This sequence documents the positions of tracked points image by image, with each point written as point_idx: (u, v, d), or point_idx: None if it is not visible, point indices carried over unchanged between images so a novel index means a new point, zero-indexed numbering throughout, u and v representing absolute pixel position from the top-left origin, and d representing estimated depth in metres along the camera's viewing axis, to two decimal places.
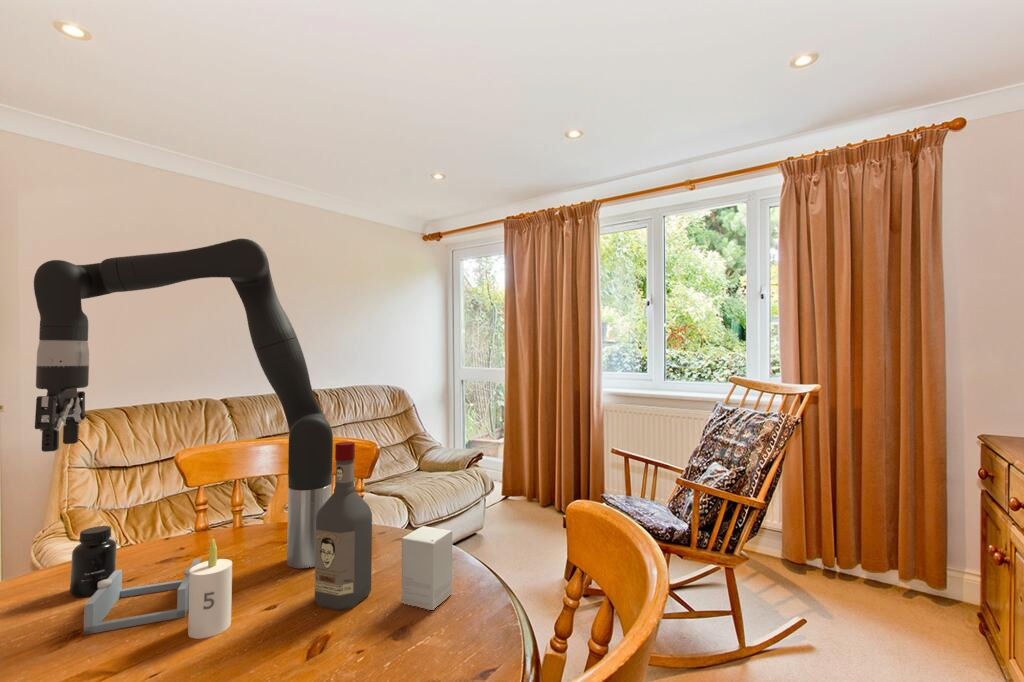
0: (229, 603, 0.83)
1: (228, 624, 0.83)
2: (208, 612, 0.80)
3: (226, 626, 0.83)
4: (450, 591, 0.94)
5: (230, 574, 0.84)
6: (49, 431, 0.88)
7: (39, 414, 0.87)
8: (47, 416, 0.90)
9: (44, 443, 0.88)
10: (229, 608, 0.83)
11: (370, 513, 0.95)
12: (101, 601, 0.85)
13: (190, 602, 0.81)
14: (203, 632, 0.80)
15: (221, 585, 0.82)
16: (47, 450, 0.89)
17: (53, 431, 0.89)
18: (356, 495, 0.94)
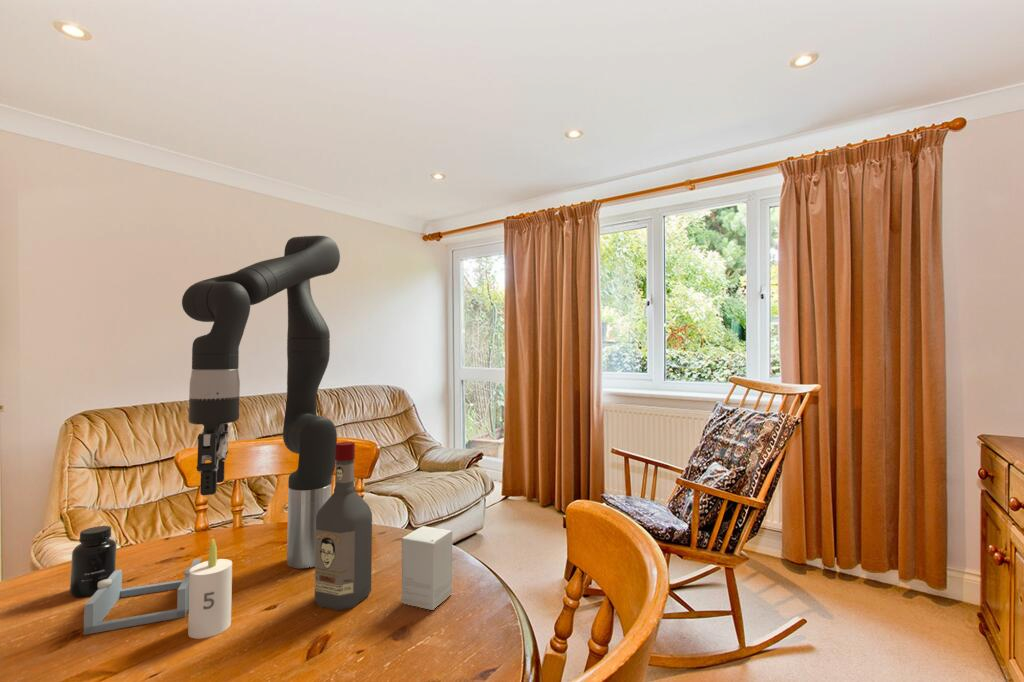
0: (229, 603, 0.83)
1: (228, 624, 0.83)
2: (208, 612, 0.80)
3: (226, 626, 0.83)
4: (450, 591, 0.94)
5: (230, 574, 0.84)
6: (209, 472, 0.79)
7: (201, 454, 0.77)
8: (205, 455, 0.80)
9: (204, 486, 0.79)
10: (229, 608, 0.83)
11: (370, 513, 0.95)
12: (101, 601, 0.85)
13: (190, 602, 0.81)
14: (203, 632, 0.80)
15: (221, 585, 0.82)
16: (206, 493, 0.79)
17: (212, 472, 0.79)
18: (356, 495, 0.94)
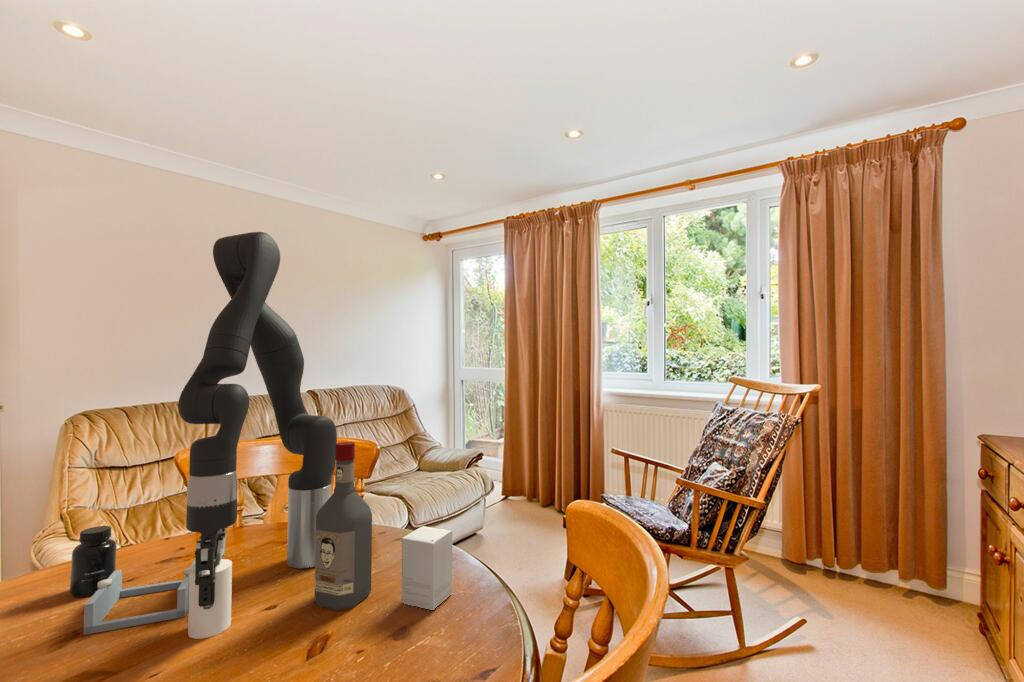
0: (229, 603, 0.83)
1: (228, 624, 0.83)
2: (208, 612, 0.80)
3: (226, 626, 0.83)
4: (450, 591, 0.94)
5: (230, 574, 0.84)
6: (207, 584, 0.79)
7: (199, 570, 0.77)
8: None
9: (202, 598, 0.79)
10: (229, 608, 0.83)
11: (370, 513, 0.95)
12: (101, 601, 0.85)
13: (190, 602, 0.81)
14: (203, 632, 0.80)
15: (221, 585, 0.82)
16: (204, 605, 0.79)
17: (211, 583, 0.80)
18: (356, 495, 0.94)
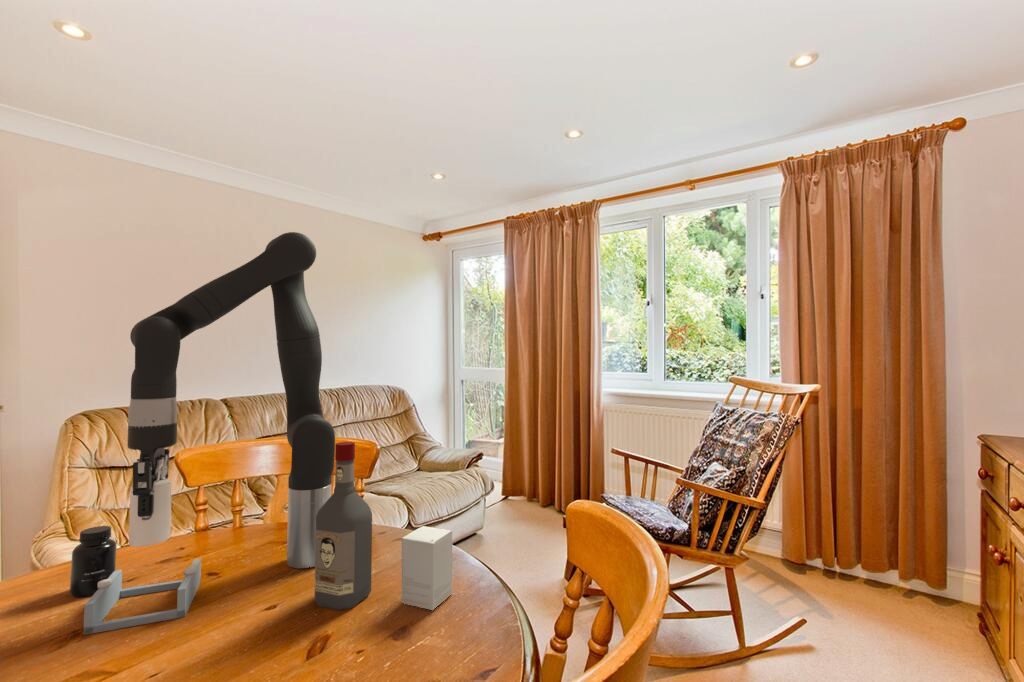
0: (168, 518, 0.91)
1: (167, 537, 0.91)
2: (146, 523, 0.88)
3: (165, 538, 0.90)
4: (450, 591, 0.94)
5: (169, 491, 0.91)
6: (145, 496, 0.87)
7: (136, 481, 0.85)
8: None
9: (140, 508, 0.86)
10: (168, 522, 0.91)
11: (370, 513, 0.95)
12: (101, 601, 0.85)
13: (130, 514, 0.88)
14: (142, 541, 0.88)
15: (159, 500, 0.89)
16: (143, 515, 0.87)
17: (149, 496, 0.87)
18: (356, 495, 0.94)
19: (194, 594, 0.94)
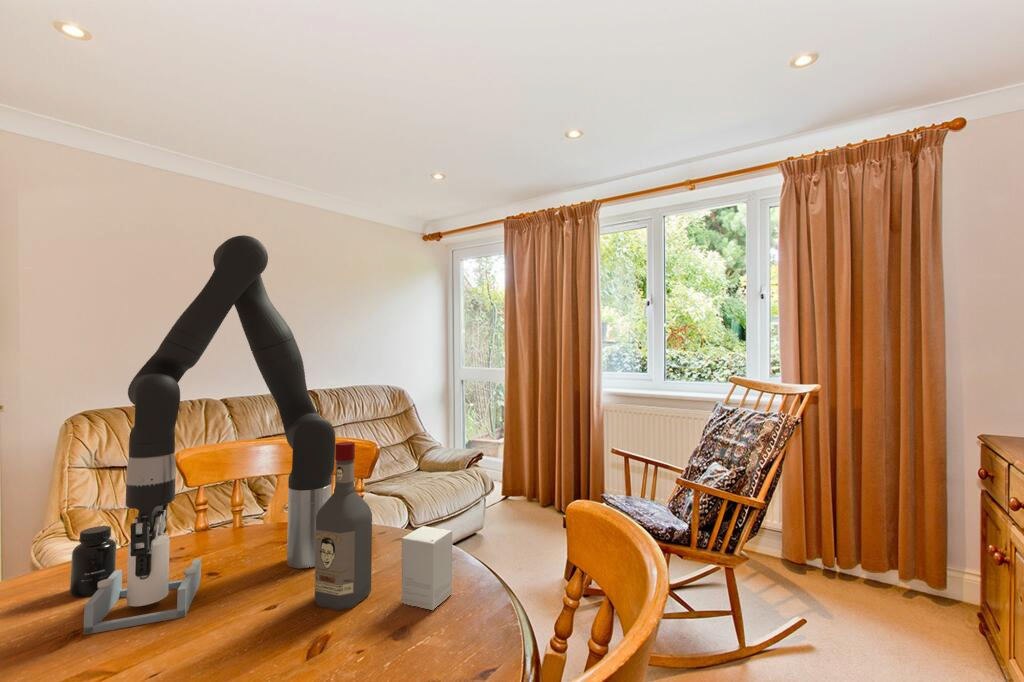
0: (166, 575, 0.91)
1: (165, 594, 0.90)
2: (144, 582, 0.88)
3: (163, 596, 0.90)
4: (450, 591, 0.94)
5: (167, 548, 0.91)
6: (143, 556, 0.86)
7: (134, 542, 0.84)
8: None
9: (138, 569, 0.86)
10: (166, 579, 0.91)
11: (370, 513, 0.95)
12: (101, 601, 0.85)
13: (128, 573, 0.88)
14: (139, 600, 0.87)
15: (157, 558, 0.89)
16: (141, 575, 0.87)
17: (147, 555, 0.87)
18: (356, 495, 0.94)
19: (194, 594, 0.94)
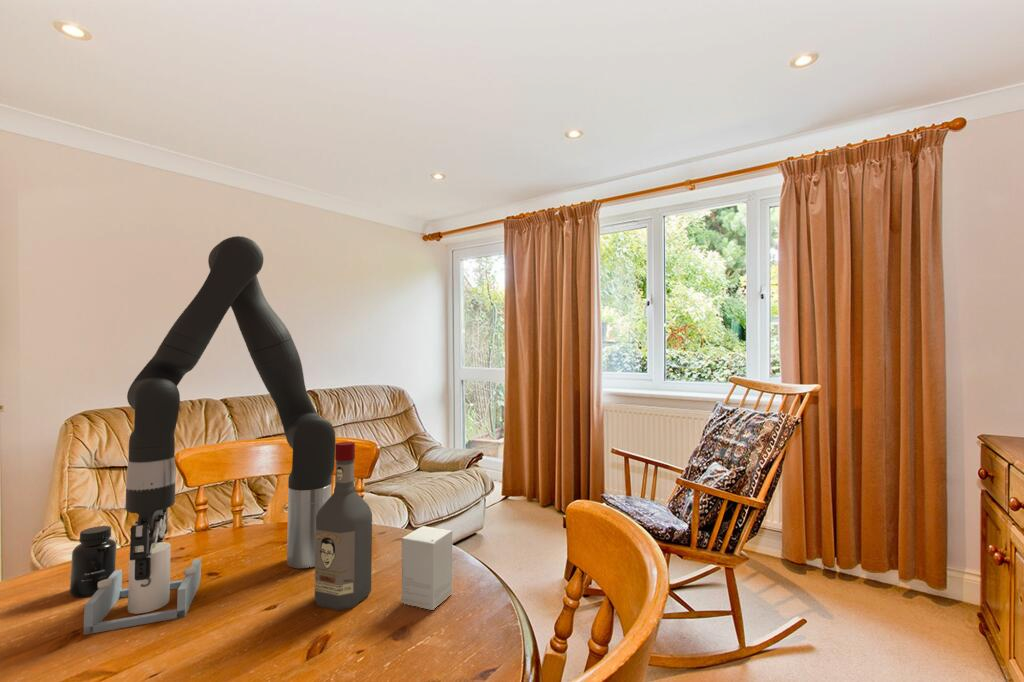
0: (167, 582, 0.91)
1: (166, 601, 0.91)
2: (145, 590, 0.88)
3: (164, 603, 0.90)
4: (450, 591, 0.94)
5: (168, 555, 0.91)
6: (142, 560, 0.86)
7: (134, 545, 0.84)
8: None
9: (137, 572, 0.86)
10: (167, 587, 0.91)
11: (370, 513, 0.95)
12: (101, 601, 0.85)
13: (129, 580, 0.88)
14: (140, 608, 0.88)
15: (158, 565, 0.89)
16: (140, 579, 0.86)
17: (146, 559, 0.86)
18: (356, 495, 0.94)
19: (194, 594, 0.94)
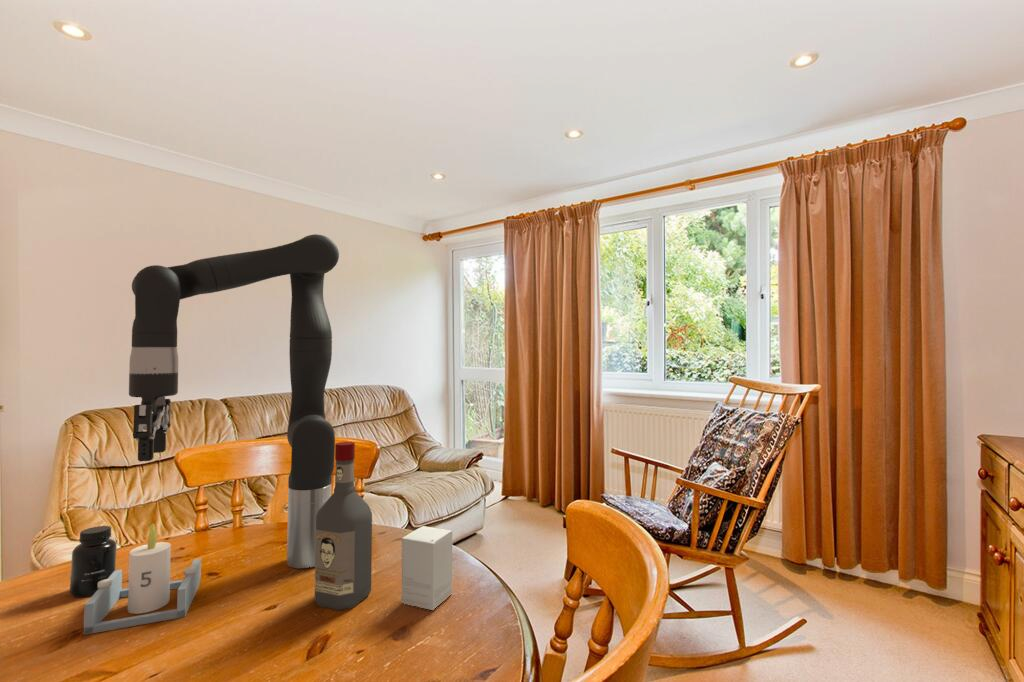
0: (167, 582, 0.91)
1: (166, 601, 0.91)
2: (145, 590, 0.88)
3: (164, 603, 0.90)
4: (450, 591, 0.94)
5: (168, 555, 0.91)
6: (145, 440, 0.86)
7: (137, 423, 0.85)
8: (142, 425, 0.87)
9: (141, 453, 0.86)
10: (167, 587, 0.91)
11: (370, 513, 0.95)
12: (101, 601, 0.85)
13: (129, 580, 0.88)
14: (140, 608, 0.88)
15: (158, 566, 0.89)
16: (143, 460, 0.87)
17: (149, 440, 0.87)
18: (356, 495, 0.94)
19: (194, 594, 0.94)
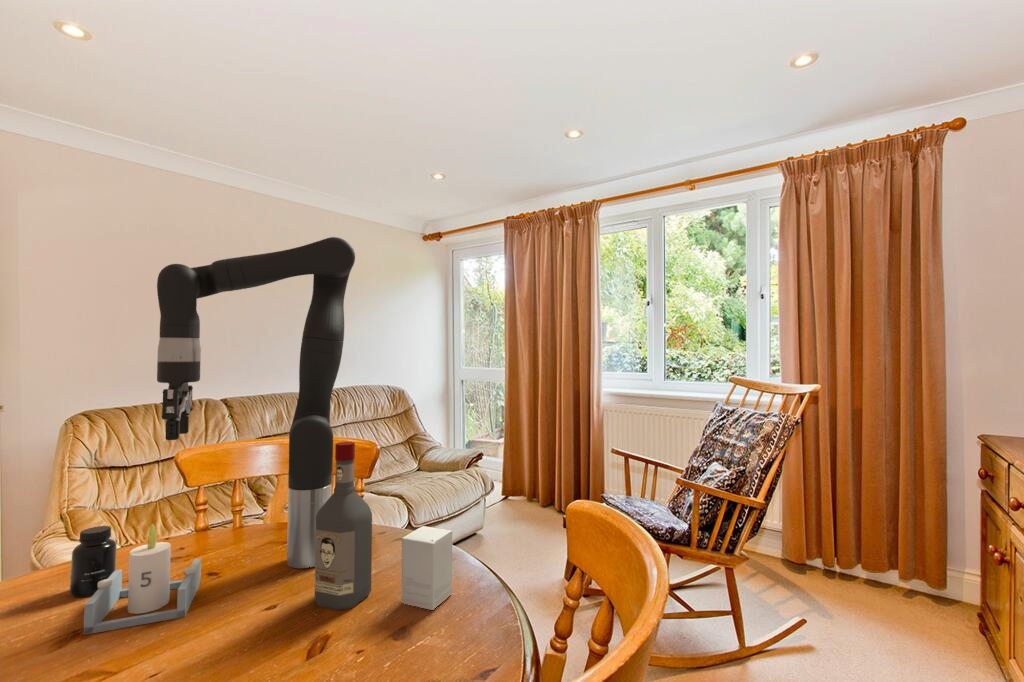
0: (167, 582, 0.91)
1: (166, 601, 0.91)
2: (145, 590, 0.88)
3: (164, 603, 0.90)
4: (450, 591, 0.94)
5: (168, 555, 0.91)
6: (172, 421, 0.96)
7: (165, 405, 0.95)
8: (169, 407, 0.97)
9: (168, 432, 0.96)
10: (167, 587, 0.91)
11: (370, 513, 0.95)
12: (101, 601, 0.85)
13: (129, 580, 0.88)
14: (140, 608, 0.88)
15: (158, 566, 0.89)
16: (170, 439, 0.97)
17: (175, 421, 0.97)
18: (356, 495, 0.94)
19: (194, 594, 0.94)
